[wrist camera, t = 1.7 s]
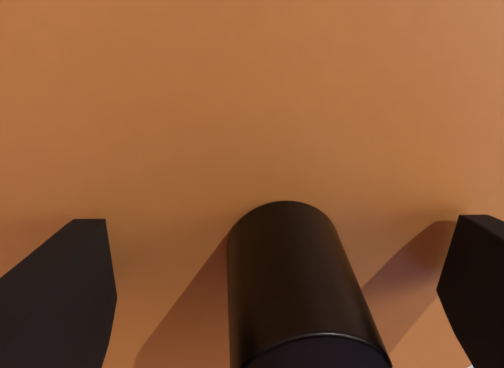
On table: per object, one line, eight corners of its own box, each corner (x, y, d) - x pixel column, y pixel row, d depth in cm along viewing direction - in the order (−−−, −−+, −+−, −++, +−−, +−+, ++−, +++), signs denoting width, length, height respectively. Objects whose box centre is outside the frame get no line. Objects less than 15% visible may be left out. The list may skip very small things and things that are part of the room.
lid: (471, 392, 14) (573, 571, 10) (38, 411, 13) (-42, 619, 9) (682, -110, 8) (1202, -171, 4) (-141, -152, 7) (-706, -305, 3)
